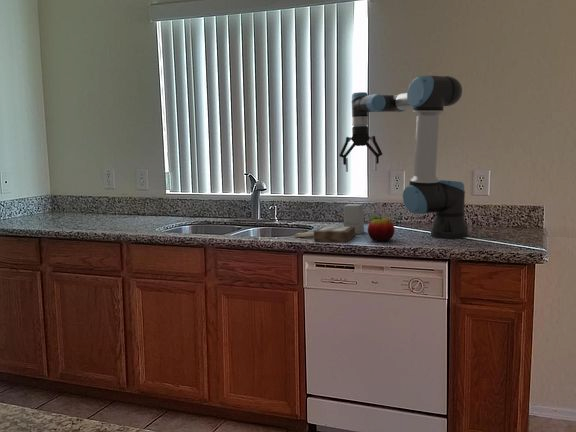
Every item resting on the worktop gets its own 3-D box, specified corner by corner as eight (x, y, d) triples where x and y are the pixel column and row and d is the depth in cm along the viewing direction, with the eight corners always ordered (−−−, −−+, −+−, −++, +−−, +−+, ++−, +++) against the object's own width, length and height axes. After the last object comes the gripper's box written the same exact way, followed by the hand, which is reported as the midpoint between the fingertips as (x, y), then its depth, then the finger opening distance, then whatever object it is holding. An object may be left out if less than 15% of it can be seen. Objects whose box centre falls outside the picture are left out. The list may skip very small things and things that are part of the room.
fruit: (388, 243, 217) (388, 218, 216) (363, 241, 223) (363, 217, 222) (398, 239, 226) (398, 215, 225) (373, 237, 232) (373, 214, 231)
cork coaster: (321, 236, 238) (321, 234, 238) (300, 238, 234) (300, 237, 234) (311, 233, 247) (311, 231, 247) (291, 235, 244) (291, 233, 243)
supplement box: (364, 231, 248) (364, 203, 246) (359, 234, 241) (359, 205, 239) (348, 231, 251) (348, 203, 249) (343, 233, 244) (342, 205, 242)
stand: (354, 236, 237) (354, 226, 236) (347, 242, 224) (347, 231, 223) (323, 235, 241) (323, 225, 241) (314, 241, 228) (313, 230, 228)
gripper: (385, 125, 264) (385, 169, 266) (333, 127, 263) (334, 171, 266) (388, 124, 256) (388, 170, 259) (334, 126, 256) (335, 172, 259)
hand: (361, 171), depth 262 cm, fingers open, 13 cm apart
